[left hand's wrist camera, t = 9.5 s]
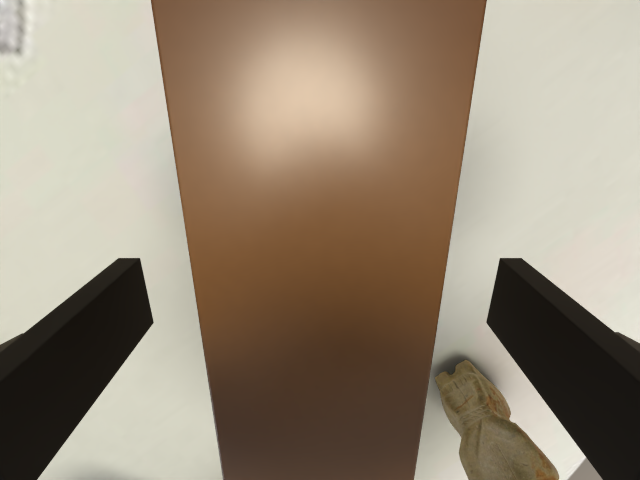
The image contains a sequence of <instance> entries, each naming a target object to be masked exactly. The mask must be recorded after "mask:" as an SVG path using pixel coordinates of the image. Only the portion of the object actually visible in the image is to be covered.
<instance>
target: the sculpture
mask: <svg viewBox="0 0 640 480" xmlns="http://www.w3.org/2000/svg"><path fill="white" fill-rule="evenodd" d="M435 380H436V383H437V385H438V388H439V390H440V396H441V401H442V404H443V407H444V410H445V412H446V415H447V417H448V419H449V421H450V423H451V424H452V425H453V427H454V428H455V429H456V431H457V432H458V433H459V434H460V436H461V444H460V449H459V455H460V460H461V463H462V465H463V468H464V470H465V472H466V474H467V477H468V479H469V480H559V475H558V472H557V470H556V468H555V467H554V465H553V464H552V463H551V462H550V460H549V459H548V458H547V457H546V456H545V454H544V453H543V452H542V451H541V450H540V449H539V448H538V447H537V446H536V445H535V444H534V442H533V441H532V440H531V439H530V438H529V436H528V435H527V434H526V433H525V432H524V431H523V430H522V429H521V428H520V427H519V426H518V425H517V424H515V423H513V422H511V421H510V420H509V418H510V415H511V411H510V408H509V406H508V404H507V402H506V400H505V398H504V397H503V395H502V394H501V392H500V391H499V390H498V389H497V388H496V387H495V386H494V385H493V384H492V383H491V382H490V381H489V380H487V379H486V378H485V377H484V376H483V375H482V374H481V373H480V372H479V371H478V370H477V369H476V368H475V367H474V366H473V365H472V363H471V362H469V361H468V360H464V361H463V362H461V363H458V364H457V365H456V366H455V372H454V374H452V375H450V374H449V373H448V372H446V371H444V372H442V373H440V374H439V375H438V376H436V378H435Z"/></svg>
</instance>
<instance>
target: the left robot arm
mask: <svg viewBox="0 0 640 480" xmlns="http://www.w3.org/2000/svg"><path fill="white" fill-rule="evenodd" d="M153 323H154V322H153V318H152V313H151V308H150V303H149V299H148V294H147V289H146V285H145V280H144V275H143V270H142V266H141V261H140V258H118V259H117V260H116V261H115V262H113V263H112V264H111V265H109V266H108V267H107V268H106V269H104V270H103V271H102V272H101V273H99V274H98V275H97V276H96V277H94V278H93V279H92V280H91V281H89V282H88V283H87V284H86V285H84V286H83V287H82V288H81V289H79V290H78V291H77V292H75V293H74V294H73V295H72V296H70V297H69V298H68V299H67V300H65V301H64V302H63V303H62V304H60V305H59V306H58V307H57V308H55V309H54V310H53V311H52V312H50V313H49V314H48V315H47V316H45V317H44V318H43V319H41V320H40V321H39V322H38V323H36V324H35V325H34V326H33V327H31V328H30V329H29V330H28V331H26V332H25V333H24V334H20V335H18V336H16V337H14V338H13V339H11V340H9V341H7V342H5V343H3V344H1V345H0V480H37V479H38V478H39V476H40V475H41V474H42V472H43V471H44V470H45V468H46V467H47V465H48V464H49V463H50V461H51V460H52V459H53V457H54V456H55V455H56V453H57V452H58V451H59V449H60V448H61V447H62V445H63V444H64V443H65V441H66V440H67V439H68V437H69V436H70V434H71V433H72V432H73V430H74V429H75V428H76V426H77V425H78V424H79V422H80V421H81V420H82V418H83V417H84V416H85V414H86V413H87V412H88V410H89V409H90V408H91V406H92V405H93V404H94V402H95V401H96V399H97V398H98V397H99V395H100V394H101V393H102V391H103V390H104V389H105V387H106V386H107V385H108V383H109V382H110V381H111V379H112V378H113V377H114V375H115V374H116V373H117V371H118V370H119V368H120V367H121V366H122V364H123V363H124V362H125V360H126V359H127V358H128V356H129V355H130V354H131V352H132V351H133V350H134V348H135V347H136V346H137V344H138V343H139V342H140V340H141V339H142V337H143V336H144V335H145V333H146V332H147V331H148V329H149V328H150V327H151V325H152V324H153ZM486 323H487V324H488V325H489V327H490V328H491V329H492V331H493V332H494V333H495V335H496V336H497V337H498V339H499V340H500V342H501V343H502V344H503V346H504V347H505V348H506V350H507V351H508V352H509V354H510V355H511V356H512V358H513V359H514V360H515V362H516V363H517V364H518V366H519V367H520V368H521V370H522V371H523V373H524V374H525V375H526V377H527V378H528V379H529V381H530V382H531V383H532V385H533V386H534V387H535V389H536V390H537V391H538V393H539V394H540V395H541V397H542V398H543V399H544V401H545V402H546V404H547V405H548V406H549V408H550V409H551V410H552V412H553V413H554V414H555V416H556V417H557V418H558V420H559V421H560V422H561V424H562V425H563V426H564V428H565V429H566V430H567V432H568V433H569V435H570V436H571V437H572V439H573V440H574V441H575V443H576V444H577V445H578V447H579V448H580V449H581V451H582V452H583V453H584V455H585V456H586V457H587V459H588V460H589V461H590V463H591V464H592V465H593V467H594V468H595V470H596V471H597V472H598V474H599V475H600V476H601V478H602V479H603V480H640V343H638V342H636V341H634V340H632V339H630V338H628V337H626V336H625V335H623V334H621V333H619V332H614V331H612V330H611V329H610V328H609V327H607V326H606V325H605V324H604V323H602V322H601V321H600V320H599V319H597V318H596V317H595V316H593V315H592V314H591V313H590V312H588V311H587V310H586V309H585V308H583V307H582V306H581V305H580V304H578V303H577V302H576V301H575V300H573V299H572V298H571V297H570V296H568V295H567V294H566V293H565V292H563V291H562V290H561V289H559V288H558V287H557V286H556V285H554V284H553V283H552V282H551V281H549V280H548V279H547V278H546V277H544V276H543V275H542V274H541V273H539V272H538V271H537V270H536V269H534V268H533V267H532V266H531V265H529V264H528V263H527V262H525V261H524V260H523V259H522V258H500V261H499V266H498V270H497V275H496V280H495V285H494V289H493V294H492V299H491V303H490V308H489V313H488V318H487V322H486Z"/></svg>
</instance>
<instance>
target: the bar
mask: <svg viewBox="0 0 640 480" xmlns="http://www.w3.org/2000/svg"><path fill="white" fill-rule="evenodd" d="M486 1H487V0H151V4H152V11H153V17H154V24H155V30H156V37H157V44H158V50H159V57H160V64H161V70H162V77H163V84H164V90H165V97H166V103H167V110H168V117H169V123H170V130H171V137H172V143H173V150H174V156H175V163H176V170H177V176H178V183H179V190H180V196H181V203H182V210H183V216H184V223H185V229H186V236H187V243H188V249H189V256H190V263H191V269H192V276H193V282H194V289H195V296H196V302H197V309H198V316H199V322H200V329H201V336H202V342H203V349H204V355H205V362H206V369H207V375H208V382H209V389H210V395H211V402H212V408H213V415H214V422H215V428H216V435H217V442H218V448H219V455H220V462H221V468H222V475H223V480H414V475H415V469H416V462H417V456H418V449H419V442H420V436H421V429H422V423H423V416H424V410H425V403H426V396H427V390H428V383H429V377H430V370H431V363H432V357H433V350H434V344H435V337H436V331H437V324H438V317H439V311H440V304H441V298H442V291H443V284H444V278H445V271H446V265H447V258H448V252H449V245H450V238H451V232H452V225H453V219H454V212H455V205H456V199H457V192H458V186H459V179H460V173H461V166H462V159H463V153H464V146H465V140H466V133H467V126H468V120H469V113H470V107H471V100H472V94H473V87H474V80H475V74H476V67H477V61H478V54H479V47H480V41H481V34H482V28H483V21H484V15H485V8H486Z"/></svg>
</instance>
